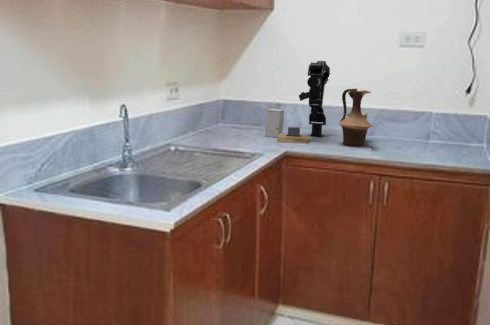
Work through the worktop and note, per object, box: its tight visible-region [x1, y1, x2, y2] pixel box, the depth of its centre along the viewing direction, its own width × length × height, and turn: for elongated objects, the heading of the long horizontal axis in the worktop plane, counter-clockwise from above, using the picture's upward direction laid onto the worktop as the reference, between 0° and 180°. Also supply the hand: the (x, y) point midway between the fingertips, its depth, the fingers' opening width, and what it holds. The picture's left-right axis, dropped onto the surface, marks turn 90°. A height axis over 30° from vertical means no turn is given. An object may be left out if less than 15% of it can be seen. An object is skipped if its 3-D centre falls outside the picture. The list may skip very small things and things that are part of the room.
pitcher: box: [337, 88, 374, 147], centre depth 251 cm, size 18×17×28 cm
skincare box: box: [264, 108, 285, 138], centre depth 273 cm, size 8×6×15 cm
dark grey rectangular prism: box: [287, 126, 301, 137], centre depth 261 cm, size 4×6×7 cm, turn 82°
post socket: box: [276, 132, 310, 144], centre depth 261 cm, size 14×16×2 cm
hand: (313, 117), depth 264 cm, fingers open, 9 cm apart
